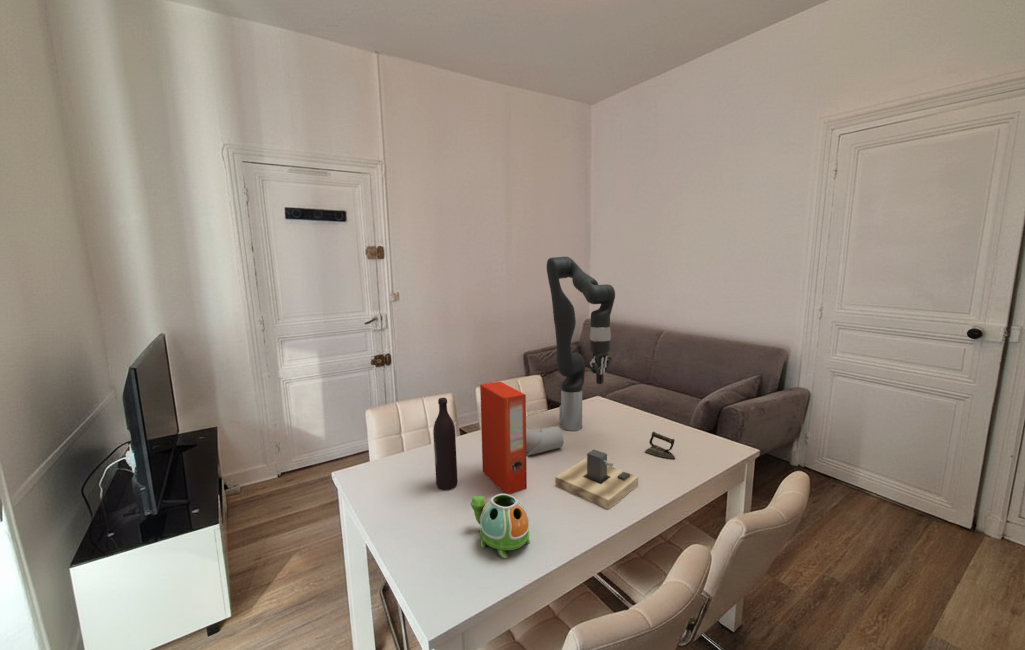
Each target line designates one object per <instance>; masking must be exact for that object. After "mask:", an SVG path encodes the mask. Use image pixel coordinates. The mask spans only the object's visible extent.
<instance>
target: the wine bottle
mask: <svg viewBox="0 0 1025 650" xmlns="http://www.w3.org/2000/svg"><path fill="white" fill-rule="evenodd" d="M437 402H438V403H437V404H438V415H437V417H436V419H435V421H434V423H433V428H432V429H433V432H432V433H433V451H434V466H435V467H434V468H435V484H436V487H437V489H438V490H441V491H449V490H453V489H455V488H456V487H457V486H458V465H457V464H458V462H457V460H458V459H457V442H456V440H457V439H456V427H455V424H454V420H453V419H452V417H451V415H450V414H449V412H448V405H447V404H448V399H447V398H446V397H439V398H438V401H437Z"/></svg>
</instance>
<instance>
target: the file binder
mask: <svg viewBox="0 0 1025 650" xmlns="http://www.w3.org/2000/svg"><path fill="white" fill-rule="evenodd" d="M479 389H480V423H481V424H480V425H481V427H480V429H481V460H482V461H481V463H482V466H481V467H482V473H484V475H485V476H486V477H487V478H488V479H489V480H490V481H492V483H494V484H495V485H496V486H497V488H498V489H499V490H500V491H501V492H502V494H508V495H513V494H515V493H519V492H521V491H524V490H526V489H527V488H528V487H527V486H528V483H527V477H528V476H527V475H528V473H527V452H526V429H527V408H526V407H527V403H526V402H527V401H526V399H527V395H526V393H523V392H521V391H519V390H517V388H514V387H512V386H510V385H507V384H506V383H504V382H502V381H495V382H489V383H483V384H480V385H479Z"/></svg>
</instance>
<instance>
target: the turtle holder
mask: <svg viewBox="0 0 1025 650" xmlns="http://www.w3.org/2000/svg"><path fill="white" fill-rule="evenodd" d="M470 506H471V509H472V510H473V512H474V516H475V520H476V521H477V523H478V524H479V525H480V530H479V535H480V538H481V542H480V546H481V548H483V549H485V548H486V547H487V546H489V547H490V548H493V549H496V550H497V554H498V555H499V557H500V558H501V559H507V558H508V554H507V552H506V551H513V550H518V549H519V548H521V547H522V546H524V545H526V544H530V543H531V541H530V539H529V538H530V530H529V529H530V519H529V515H528V512H527V510H526V508H525V506H524V505H523V504H522V503H521V502H520V501H519V500H518V499H517V498H516V497H514V496H513V495H512V494H509V495H508V494H504V493H497V494H496V495H493V496H492V497H491V498H490V500H489V501H487V503H486V502H485V497H484V496H483V495H479V496H478V495H474V496H473V497H472V499H471V502H470Z"/></svg>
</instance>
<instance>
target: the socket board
mask: <svg viewBox="0 0 1025 650" xmlns="http://www.w3.org/2000/svg"><path fill="white" fill-rule="evenodd" d="M554 480H555V486H556V487H558V488H559V489H560V488H561V489H563V490H565V491H567V492H569V493H571V494H573V495H576V496H578V497H580V498H582V499H585V500H587V501H589V502H591V503H593V504H596V505H598V506H600V507H603V508H605V509H606V510H610V509H611V508H612V507H613V506H615V505H616V504H617V503H619V502H620V501H621V500H622V499H624V497H626V496H627V495H629V493H631V492H632V491H633V490H634V489H635V488H637V487H638V486H639V476H637V475H635V474H632V473H630V472H627V471H624V470H621V469H619V468H616V467H613V466H612V467H611V466H609V465H607V480H606V481H605V482H603V483H602V484H599V483H597V482H594V481H592V480H589V479H587V457H585V458H583V460H580V461H578V462H577V463H576V464H574V465H573V466H571V467H569V468H567V469H566V470H564V471H563V472H561V473H560V474H558V475H556V476H555V479H554Z"/></svg>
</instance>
